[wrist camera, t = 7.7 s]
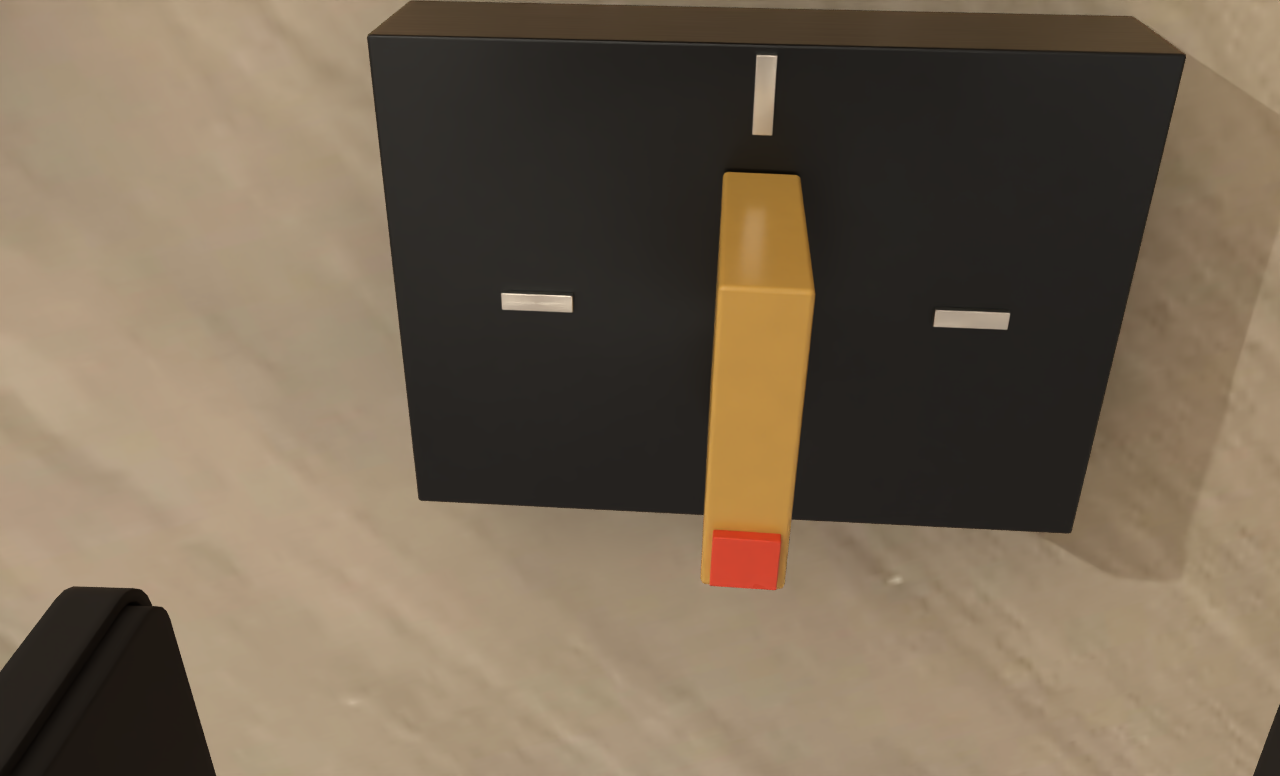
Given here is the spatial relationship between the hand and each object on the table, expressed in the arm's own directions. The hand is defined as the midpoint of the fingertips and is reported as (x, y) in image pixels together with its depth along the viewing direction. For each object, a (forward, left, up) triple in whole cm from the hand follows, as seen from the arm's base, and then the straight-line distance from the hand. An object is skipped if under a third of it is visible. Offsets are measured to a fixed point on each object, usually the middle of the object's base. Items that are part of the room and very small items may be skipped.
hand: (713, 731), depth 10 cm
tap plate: (-1, +2, -16) cm, 16 cm away
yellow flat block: (-1, +2, -13) cm, 13 cm away
